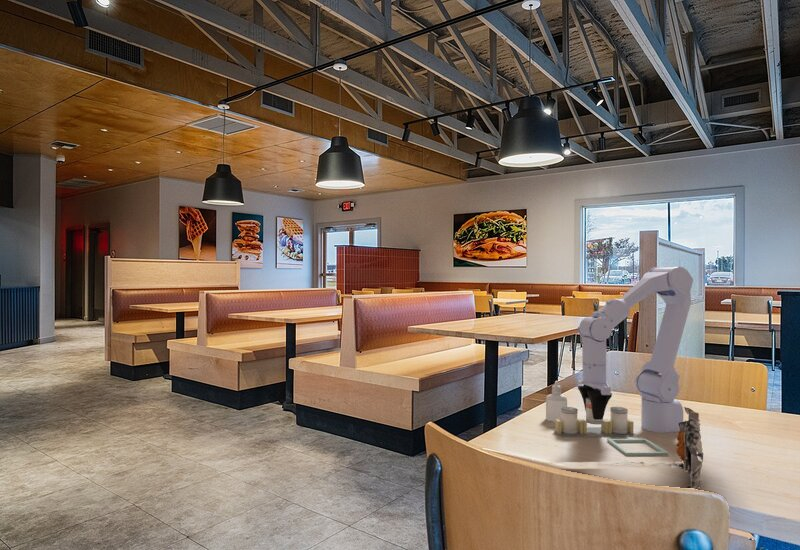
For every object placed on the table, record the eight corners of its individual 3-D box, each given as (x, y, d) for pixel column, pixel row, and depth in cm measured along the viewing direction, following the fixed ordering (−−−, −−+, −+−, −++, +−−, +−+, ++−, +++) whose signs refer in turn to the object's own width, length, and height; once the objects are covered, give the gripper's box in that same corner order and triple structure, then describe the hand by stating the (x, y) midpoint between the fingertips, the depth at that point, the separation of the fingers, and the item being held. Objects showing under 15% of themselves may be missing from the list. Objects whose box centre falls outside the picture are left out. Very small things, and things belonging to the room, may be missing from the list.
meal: (674, 465, 109) (674, 405, 109) (697, 469, 107) (697, 408, 107) (677, 492, 95) (678, 424, 95) (703, 496, 93) (704, 427, 93)
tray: (646, 446, 121) (646, 438, 121) (668, 460, 111) (668, 452, 111) (607, 446, 121) (607, 438, 121) (626, 461, 111) (626, 453, 111)
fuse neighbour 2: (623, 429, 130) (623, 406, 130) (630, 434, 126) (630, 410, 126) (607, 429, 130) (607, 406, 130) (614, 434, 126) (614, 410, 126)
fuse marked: (598, 419, 130) (598, 396, 130) (605, 424, 126) (605, 400, 126) (583, 419, 130) (583, 396, 130) (589, 424, 126) (589, 400, 126)
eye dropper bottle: (562, 428, 135) (562, 384, 135) (543, 423, 139) (543, 381, 139) (569, 424, 138) (569, 381, 138) (550, 420, 142) (550, 378, 142)
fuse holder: (624, 431, 132) (624, 415, 132) (640, 441, 124) (640, 424, 124) (550, 431, 132) (550, 416, 132) (561, 442, 124) (561, 425, 124)
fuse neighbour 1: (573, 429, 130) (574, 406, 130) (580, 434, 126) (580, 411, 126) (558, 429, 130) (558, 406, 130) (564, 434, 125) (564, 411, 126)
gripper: (568, 359, 135) (568, 409, 135) (590, 369, 120) (590, 425, 120) (594, 359, 135) (594, 408, 135) (619, 369, 121) (619, 424, 121)
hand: (594, 416), depth 128 cm, fingers closed on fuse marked, 4 cm apart
